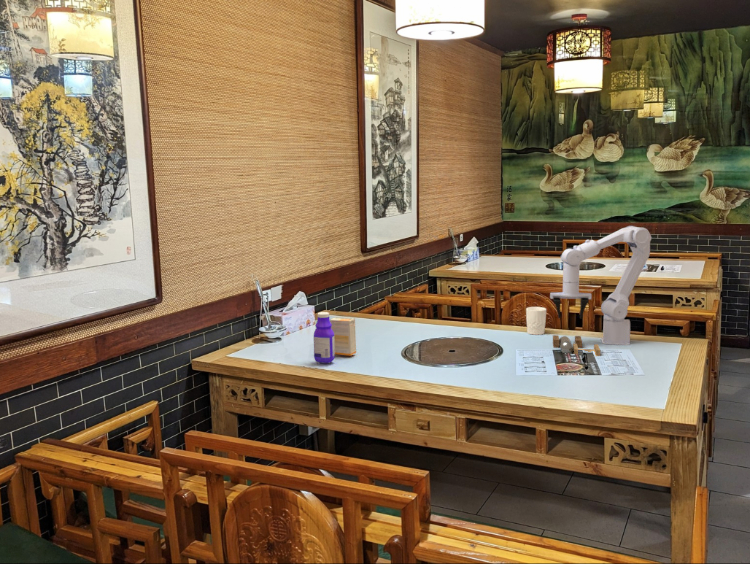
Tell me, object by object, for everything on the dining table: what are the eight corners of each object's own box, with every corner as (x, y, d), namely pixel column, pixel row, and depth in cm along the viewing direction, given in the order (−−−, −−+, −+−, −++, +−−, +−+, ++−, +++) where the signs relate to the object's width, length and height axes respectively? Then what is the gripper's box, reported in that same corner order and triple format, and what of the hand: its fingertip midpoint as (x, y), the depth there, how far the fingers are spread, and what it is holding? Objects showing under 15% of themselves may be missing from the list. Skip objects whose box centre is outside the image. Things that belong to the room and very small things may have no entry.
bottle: (337, 359, 238) (335, 311, 235) (331, 364, 233) (329, 315, 230) (318, 358, 240) (316, 310, 238) (311, 362, 235) (310, 314, 232)
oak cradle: (597, 351, 242) (597, 344, 241) (600, 357, 233) (600, 350, 232) (572, 350, 243) (572, 343, 243) (574, 356, 235) (574, 349, 234)
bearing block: (580, 344, 251) (580, 336, 251) (581, 349, 245) (582, 340, 244) (552, 343, 254) (552, 335, 253) (553, 348, 247) (553, 339, 246)
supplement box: (356, 352, 247) (355, 318, 245) (350, 356, 242) (349, 320, 240) (337, 350, 250) (335, 316, 248) (330, 354, 246) (329, 319, 244)
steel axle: (562, 348, 250) (556, 339, 250) (571, 343, 249) (566, 334, 249) (564, 357, 238) (559, 347, 238) (575, 352, 237) (569, 342, 237)
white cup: (547, 335, 267) (548, 310, 265) (527, 335, 267) (528, 310, 265) (543, 330, 275) (543, 306, 273) (524, 330, 275) (524, 306, 273)
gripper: (590, 280, 249) (589, 316, 251) (550, 279, 252) (549, 315, 255) (592, 283, 242) (591, 320, 245) (550, 282, 246) (550, 319, 248)
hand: (570, 317), depth 249 cm, fingers open, 7 cm apart
